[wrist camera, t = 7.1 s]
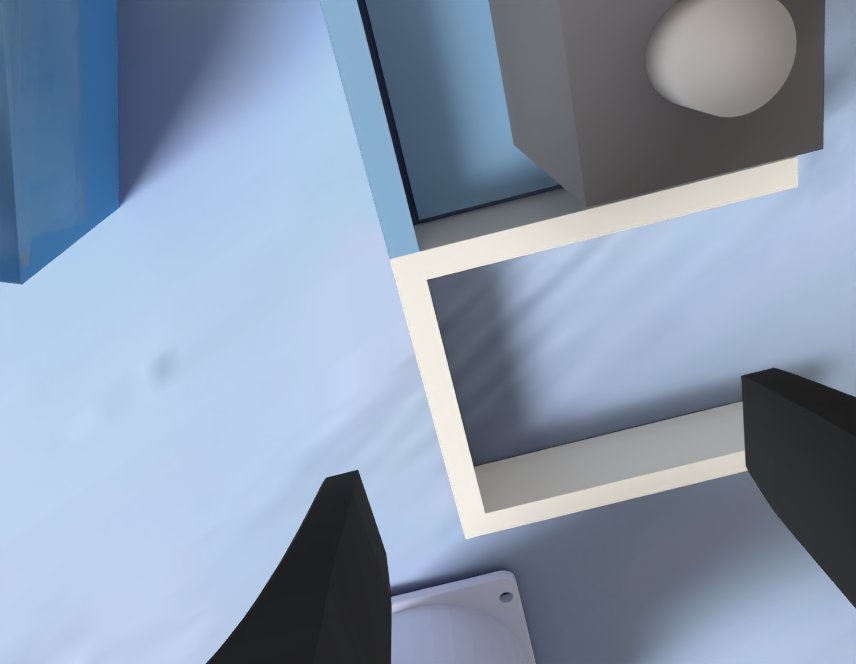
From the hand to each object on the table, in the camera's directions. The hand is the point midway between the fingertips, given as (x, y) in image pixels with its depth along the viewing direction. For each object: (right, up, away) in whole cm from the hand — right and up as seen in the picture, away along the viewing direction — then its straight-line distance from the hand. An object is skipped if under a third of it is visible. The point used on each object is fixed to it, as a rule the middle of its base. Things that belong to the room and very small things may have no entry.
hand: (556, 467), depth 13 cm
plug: (+2, +10, +6) cm, 12 cm away
